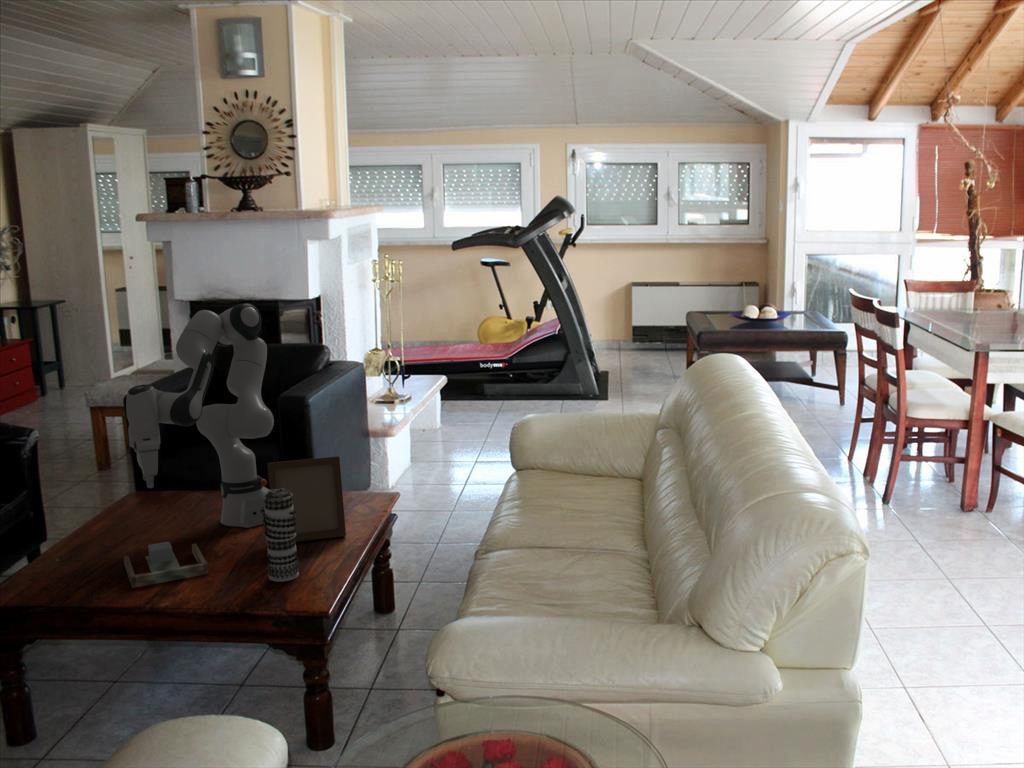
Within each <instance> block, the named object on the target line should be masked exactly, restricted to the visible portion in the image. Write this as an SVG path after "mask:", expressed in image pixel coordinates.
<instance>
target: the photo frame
mask: <svg viewBox="0 0 1024 768" xmlns="http://www.w3.org/2000/svg"><path fill="white" fill-rule="evenodd" d="M340 459H341V458H340V456H339V455H337V456H329V457H317V458H307V459H306V458H305V459H296V460H294V459H293V460H284V461H275V462H274V461H273V462H267V463H266V464H267V475H268V476H267V477H268V489H269V490H272V489H277V488H284V489H287V490H289V492H290V493H292V494H293V496H292V504H293V509H295V510H296V513H294V514H293V516H296V520H294V521H295V522H296V525H295V526H294V528H295V529H296V536H295V543H296V542H304V541H315V540H320V539H321V540H322V539H330V538H338V537H340V538H341V537H345V536H347V532H346V520H345V509H344V508H345V507H344V506H345V505H344V497H343V495H344V494H343V485H342V474H341V473H342V472H341V460H340Z"/></svg>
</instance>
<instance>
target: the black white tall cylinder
mask: <svg viewBox="0 0 1024 768" xmlns="http://www.w3.org/2000/svg"><path fill="white" fill-rule="evenodd" d="M292 496H293V494H292V493H290V492H289V490H287V489H284V488H277V489H272V490H269V491H268V492H267V494H266V495H265V496H264V497H263V498H264V500H265V507H264V509H265V511H264V512H263V513H262V514H263V517H264V518H263V519H264V520H263V522H264V524H263V529H264V536H265V539H266V541H267V553H266V557H267V559H266V561H267V563H268V564H267V565H266V567H267V573H268V579H269V580H270V581H272V582H278V583H279V582H280V583H281V582H289V581H292V580H295V579H297V578H298V577H299V576H300V573H299V569H300V567H299V564H300V563H299V561H298V559H299V556H298V549H297V545H296V544H297V543H296V542H295V536H296V529H295V528H294V526H295V525H296V522H295V521H294V520H296V516H293V514H294V513H296V510H295V509H293V504H292ZM265 514H266V516H265ZM265 520H266V521H265Z"/></svg>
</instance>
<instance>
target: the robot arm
mask: <svg viewBox="0 0 1024 768" xmlns="http://www.w3.org/2000/svg"><path fill="white" fill-rule="evenodd" d="M262 331H263V329H262V317H261V313H260V311H259V309H258V308H257V307H256V306H255V305H253V304H251V303H240V304H236V305H234V306H233V307H230V308H228V309H226V310H224V311H223V312H221V313H220V314H217V313H216V312H214V311H212V310H208V309H202V310H199V311H197V312H196V313H195V314H194V315H193V316H192V318H191V319H190V320H188V323H187V324H186V326H185V327H184V328H183V330H182V332H181V333H180V336H179V337H178V340H177V342H176V345H175V351H176V355H177V357H178V359H180V361H181V362H182V363H183V364H184V365H186V366H187V367H188V368H190V369H193V372H192V374H191V378H190V380H189V382H188V386H187V388H186V390H184V391H182V392H170V391H163V390H159V389H157V388H155V387H154V386H153V385H152V384H140V385H136V386H133V387H131V388H130V389H128V391H127V394H126V400H125V403H126V404H125V408H126V410H125V411H126V412H125V413H126V418H127V421H128V429H127V430H128V431H127V432H128V441H129V442H128V443H129V447H130V448H132V449H134V453H136V460H137V463H138V466H139V468H140V469H141V471H142V479H143V481H145V482H146V488H147V489H153V488H154V486H155V485H154V480H155V476H157V475H158V471H159V469H158V468H159V450H160V446H161V445H160V444H161V436H160V435H161V433H160V431H161V430H160V425H159V424H160V423H161V424H167V425H176V426H183V427H190V426H193V425H194V424H196V428H197V429H198V431H199V433H200V434H201V435H202V436H203V437H206V439H207V440H208V441H209V442H210V444H211V445H212V447H214V450H216V453H217V455H218V459H219V464H220V471H221V472H220V473H221V480H220V492H221V497H222V510H221V516H220V517H221V518H220V521H219V522H220V524H222V525H224V526H227V527H241V528H246V529H249V528H253V527H257V526H262V525H265V524H264V522H263V520H264V519H263V518H264V517H263V514H262V513H263V512H264V511H265V509H264V507H265V500H264V498H263V497H264V496H265V495H266V494H267V492H268V491H269V488H268V487H266V486H267V484H268V481H267V480H266V479H265V478H263V477H261V476H260V475H258V474H257V463H256V460H257V459H256V456H255V455H256V454H255V453H254V452H253V451H252V449H250V448H248V447H246V445H244V444H243V442H242V441H241V440H240V439H253V440H254V439H258V438H264V437H267V436H268V435H269V434H270V433H271V432H272V430H273V428H274V424H275V419H274V414H273V412H272V411H271V409H270V408H269V407H267V406H266V404H265V402H264V401H263V398H262V397H263V396H262V386H263V380H264V375H265V370H266V365H267V358H268V347H267V344H266V342H265V340H263V338H261V337H260V336H261V334H262V333H263V332H262ZM216 345H217V346H220V347H229V346H233V356H232V360H231V363H230V367H229V371H228V373H227V375H228V376H227V379H226V386H227V389H228V391H229V392H230V393H231V394H232V395H234V396H235V397H237V401H236V403H233V404H231V403H214V404H207V405H204V401H205V398H206V395H207V394H206V393H207V390H208V388H209V384H210V381H211V378H212V376H213V372H214V369H215V358H214V356H213V351H214V349H215V347H216ZM265 516H266V514H265ZM265 521H266V520H265Z"/></svg>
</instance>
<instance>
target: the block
mask: <svg viewBox="0 0 1024 768" xmlns="http://www.w3.org/2000/svg"><path fill="white" fill-rule="evenodd" d="M147 548H148V556H149V558H150V561H151V563H152V564H156V563H161V562H167V561H173V553H174V551H173V547H172V545H171V542H170V541H164V542H158V543H152V544H147Z"/></svg>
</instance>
